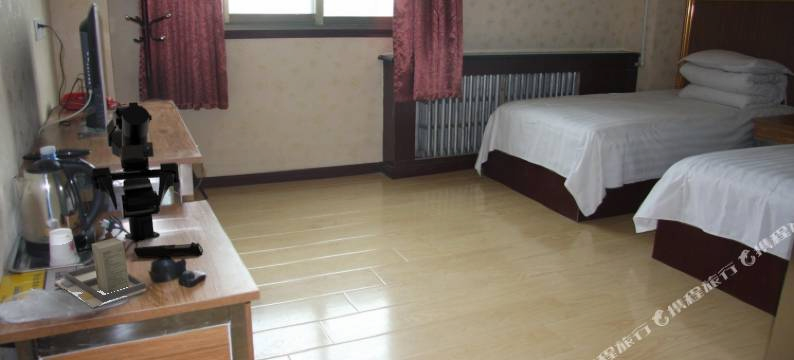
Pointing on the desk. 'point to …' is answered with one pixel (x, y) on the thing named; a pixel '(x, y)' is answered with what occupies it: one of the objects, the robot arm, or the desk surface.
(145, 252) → the electric trimmer
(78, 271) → the divided tray
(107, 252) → the skincare box
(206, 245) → the desk surface
